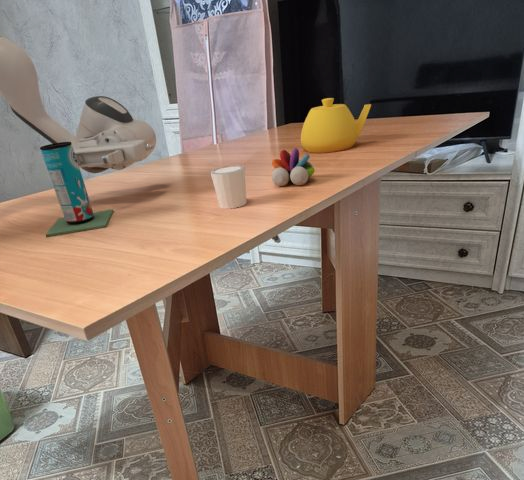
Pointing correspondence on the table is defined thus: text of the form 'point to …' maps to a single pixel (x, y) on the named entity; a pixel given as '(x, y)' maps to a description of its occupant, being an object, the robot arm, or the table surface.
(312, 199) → the table surface
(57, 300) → the table surface
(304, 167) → the rainbow petal toy
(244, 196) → the white cup
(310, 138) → the teapot
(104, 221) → the mat
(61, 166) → the beverage can
